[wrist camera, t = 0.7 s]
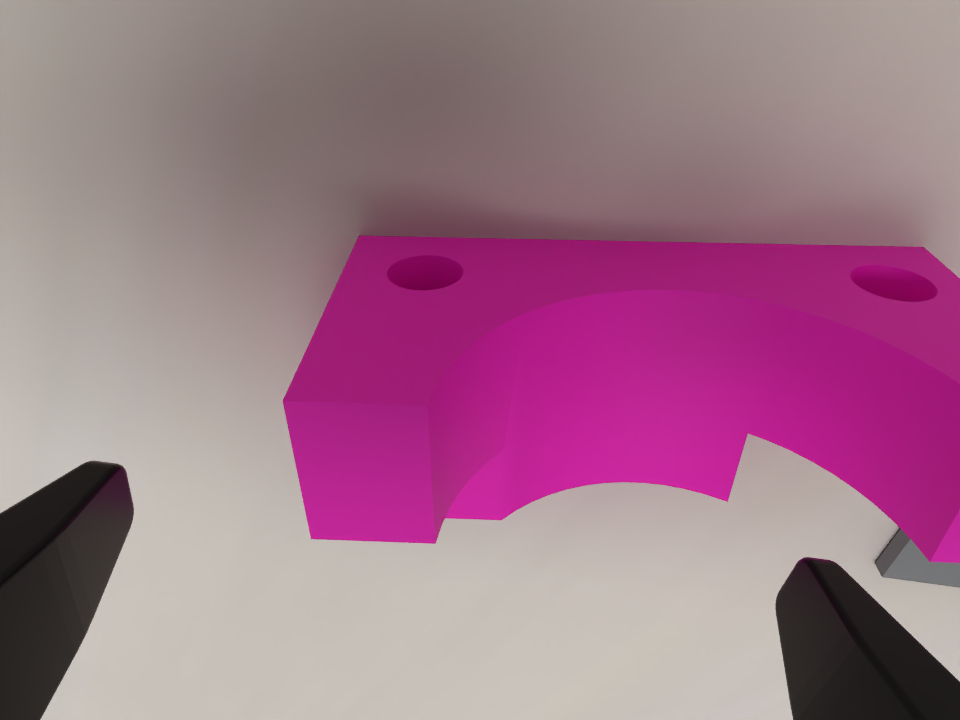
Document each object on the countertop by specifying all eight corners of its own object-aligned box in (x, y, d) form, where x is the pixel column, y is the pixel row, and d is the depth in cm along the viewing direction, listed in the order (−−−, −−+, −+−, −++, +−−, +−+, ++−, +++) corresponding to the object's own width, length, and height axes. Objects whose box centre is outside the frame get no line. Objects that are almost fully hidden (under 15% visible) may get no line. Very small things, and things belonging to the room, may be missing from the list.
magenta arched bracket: (379, 410, 22) (325, 610, 16) (360, 232, 19) (282, 400, 13) (847, 424, 22) (979, 637, 16) (920, 243, 18) (1128, 426, 12)
